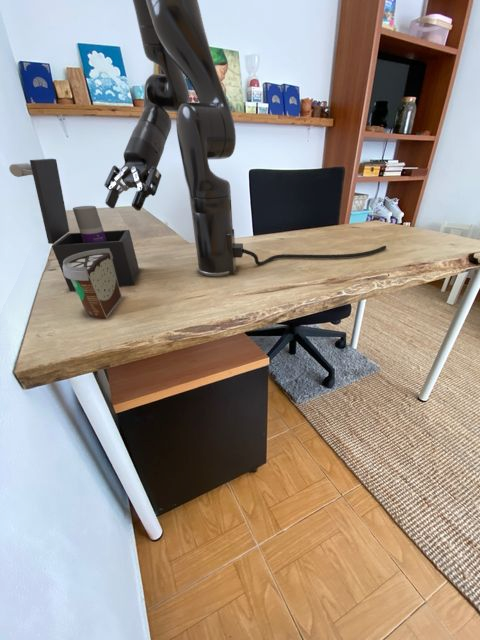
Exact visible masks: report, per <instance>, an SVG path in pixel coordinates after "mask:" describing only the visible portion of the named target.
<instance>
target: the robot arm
mask: <svg viewBox="0 0 480 640" xmlns="http://www.w3.org/2000/svg"><path fill="white" fill-rule="evenodd" d="M132 4H133V7H134V11H135V16H136V20H137V24H138V29H139V34H140V38H141V43H142V47H143V52H144V54H145V57H146V58H147V60H149V61H150V62H152V63H153V64H156V65H158V66H159V67H160V68H161V69H162V72H163V74H161V73H153V74H150V75H149V77H147V79H146V81H145V84H144V96H143V106H142V111H141V114H140V117H139V118H138V121H137V123H136V125H135V126H134V128H133V130H132V131H131V134H130V137H129V140H128V143H127V145H126V147H125V149H124V152H123V160H124V165H122V167H121V168H119V167H118V166H117V165H113V166H112V167H111V170H110V171H109V173H108V176H107V178H106V180H105V181H104V187H105V188H106V189H107V190H108V193H107V196H106V198H105V201H104V203H105V205H106V206H108V207H109V208H110V209H115V208H116V205H117V202H118V200H119V198H120V195H121V194H122V193H123V192H127V191H128V190H130V189H137V190H136V191H135V194H134V196H133V199H132V201H131V207H132V208H133V209H134V210H135V211H141V210H142V208H143V206H144V204H145V201H146V199H147V198H149V196H152V197H154V196H155V195H156V194H157V190H158V189H159V185H160V182H161V179H162V174H161V172H160V171H159V170H158V166H159V163H160V161H161V158H162V156H163V153H164V150H165V145H166V143H167V140H168V137H169V135H170V133H171V130H172V118H171V116H170V115H169V112H170V113H171V112H172V113H176V120H175V121H176V122H175V123H176V124H175V125H176V126H175V127H176V135H177V142H178V148H179V152H180V158H181V164H182V168H183V176H184V180H185V183H186V187H187V189H188V197H189V203H190V211H191V220H192V227H193V228H192V229H193V233H194V241H195V242H194V243H195V249H196V257H197V265H198V273H199V274H200V275H202V276H206V277H223V276H224V277H225V276H228V275H235V272H236V270H237V258H238V259H239V258H240V259H242V258H243V255H244V254H246V255H248V256H251V257H252V258H253V260H254V263H255V264H256V265H257V266H263V265H265V264H267V263H270V262H272V261H274V260H278V259H346V258H356V257H363V256H368V255H373V254H376V253H379V252H382V251H384V250H386V249H387V245H382V246H380V247H378V248H375V249H371V250H366V251H362V252H356V253H343V254H296V253H295V254H291V253H290V254H286V253H285V254H284V253H283V254H275V255H272V256H270V257H267V258H266V259H265V260H263V261H260V260H259V257H258V255H257V254H256V253H255V252H253V251H251V250H248V249H245V248H244V243H237V242H236V239H235V237H236V236H235V229H234V228H233V227H234V226H233V210H232V209H233V208H232V195H231V184H230V181H228V180H227V179H225V178H223V177H221V176H218V175H216V174H215V173H214V172H213V171H212V170H211V168H210V164H209V160H210V161H211V160H225V159H228V158H230V157H231V156H232V155H233V154H234V152H235V149H236V142H237V141H236V140H237V137H236V136H237V135H236V128H235V122H234V118H233V117H234V116H233V115H232V111H231V108H230V104H229V102H228V99H227V96H226V94H225V91H224V88H223V86H222V85H223V84H222V82H221V80H220V77H219V73H218V71H217V68H216V64H215V61H214V57H213V54H212V50H211V47H210V44H209V41H208V36H207V34H206V33H207V32H206V29H205V24H204V21H203V17H202V13H201V9H200V4H199V1H198V0H132ZM186 79H187V81H188V82H189V84H190V85H191V87H192V89H193V91H194V93H195V96H196V98H197V101H198V102H196V101H190V92H189V87H188V83H187V81H186ZM118 187H119V188H118Z"/></svg>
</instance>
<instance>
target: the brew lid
mask: <svg viewBox="0 0 480 640" xmlns="http://www.w3.org/2000/svg"><path fill="white" fill-rule="evenodd" d="M29 162H30V163H28V162H24V163H15V164H13V163H12V164H10V165H9V168H8V169H9V172H10V173H11V175H12V176H14V177H16V178H20V177H27V176H32V177H33V181H34V185H35V186H34V187H35V190H36V194H37V200H38V203H39V209H40V213H41V216H42V223H43V225H44V230H45V231H44V232H45V235H46V240H47V243H48V244H49V245H54V244H55V243H56V242H58V241H59V240H60V239H62V238H63V237H64V236H66V235H67V234H68V233H70V227H69V221H68V217H67V211H66V205H65V200H64V194H63V189H62V184H61V178H60V173H59V167H58V162H57V159H56V158H41V159H29Z"/></svg>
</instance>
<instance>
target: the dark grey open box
mask: <svg viewBox="0 0 480 640" xmlns="http://www.w3.org/2000/svg"><path fill="white" fill-rule="evenodd" d="M104 234H105V237H106V241H107V242H95V243H84V242H83V239H82V236H81V233H80V232H68V233H67V234H65V235H64V236H63V237H61V238H60V239H59V240H57V241H56V242H55V243H53V244H52V245H51V248H52V251H53V253H54V255H55V259H56V260H57V263H58V266H59V268H60V271H61V273H62V276H63V277H64V280H65V283H66V285H67V288H68V291H69V292H76V289H75V287H74V285H73V283H72V281H71V279H68V278H66V277H65V276H64V273H63V261H64V259H66V258H67V257H69V256H72V255H74V254H77V253H81V252H85V251H90V250H97V249H110V251H111V254H112V256H113V259H112V261H113V265H114V268H115V272H116V276H117V280H118V284H119V287H130V286H135V283H136V280H137V277H138V273H139V270H140V267H139V263H138V259H137V255H136V251H135V248H134V243H133V239H132V235H131V230H130V229H119V230H117V229H116V230H104Z"/></svg>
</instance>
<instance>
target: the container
mask: <svg viewBox="0 0 480 640" xmlns="http://www.w3.org/2000/svg"><path fill="white" fill-rule="evenodd" d="M72 211H73V214H74V217H75V221H76V223H77V226H78V231H79V233H81V236H82V239H83V242H84V243H95V242H107V241H106V237H105V234H104V231H105V230H104V228H103V224H102V221H101V219H100V216H99V212H98V210H97V207H96V206H95V205H80V206H73V207H72Z"/></svg>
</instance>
